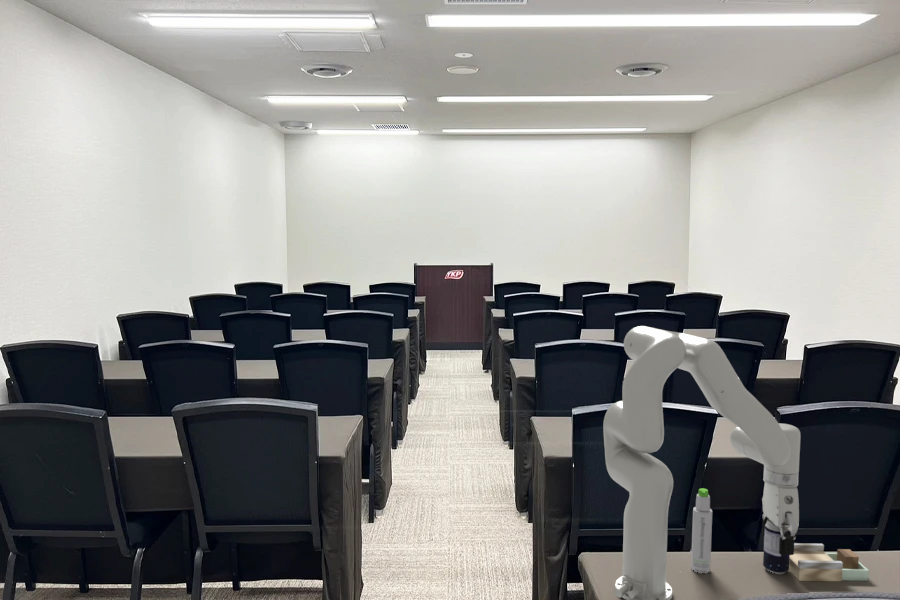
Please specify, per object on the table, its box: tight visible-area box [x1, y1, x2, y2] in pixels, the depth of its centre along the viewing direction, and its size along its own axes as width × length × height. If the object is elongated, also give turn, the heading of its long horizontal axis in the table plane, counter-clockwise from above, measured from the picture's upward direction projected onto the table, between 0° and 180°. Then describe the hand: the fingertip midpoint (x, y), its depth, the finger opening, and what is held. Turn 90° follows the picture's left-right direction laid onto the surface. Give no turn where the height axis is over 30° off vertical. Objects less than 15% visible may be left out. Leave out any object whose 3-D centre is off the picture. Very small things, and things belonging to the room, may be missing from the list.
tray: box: [825, 552, 870, 582], centre depth 170 cm, size 6×9×2 cm
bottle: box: [690, 487, 713, 574], centre depth 170 cm, size 4×4×20 cm
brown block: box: [836, 548, 860, 569], centre depth 170 cm, size 4×4×3 cm
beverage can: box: [762, 519, 790, 575], centre depth 170 cm, size 6×6×12 cm
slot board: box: [788, 542, 843, 582], centre depth 170 cm, size 10×10×4 cm
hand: (777, 545), depth 170 cm, fingers open, 9 cm apart
